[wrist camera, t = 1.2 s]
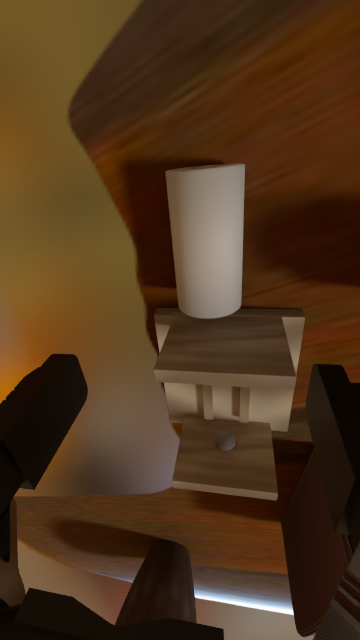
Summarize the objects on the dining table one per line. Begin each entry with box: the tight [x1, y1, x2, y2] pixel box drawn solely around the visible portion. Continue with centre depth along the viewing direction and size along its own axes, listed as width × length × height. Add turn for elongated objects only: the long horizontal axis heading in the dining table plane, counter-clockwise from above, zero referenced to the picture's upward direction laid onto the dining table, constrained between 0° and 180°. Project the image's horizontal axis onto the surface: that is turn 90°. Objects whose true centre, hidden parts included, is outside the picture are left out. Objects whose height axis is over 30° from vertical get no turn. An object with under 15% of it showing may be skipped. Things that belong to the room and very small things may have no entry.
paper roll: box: [165, 164, 245, 319], centre depth 23 cm, size 11×6×6 cm, turn 5°
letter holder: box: [281, 448, 354, 637], centre depth 35 cm, size 10×20×14 cm, turn 178°
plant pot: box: [115, 541, 196, 626], centre depth 52 cm, size 15×15×16 cm
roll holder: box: [154, 308, 305, 501], centre depth 29 cm, size 15×14×10 cm
